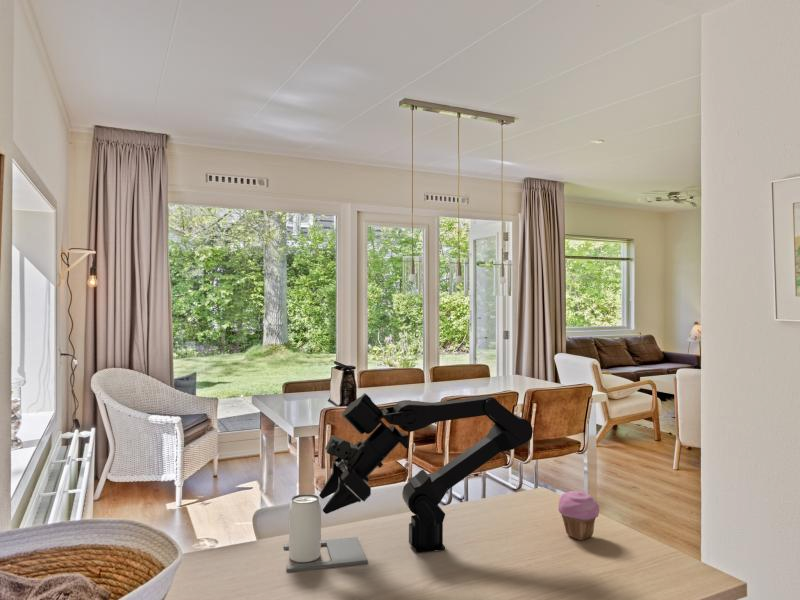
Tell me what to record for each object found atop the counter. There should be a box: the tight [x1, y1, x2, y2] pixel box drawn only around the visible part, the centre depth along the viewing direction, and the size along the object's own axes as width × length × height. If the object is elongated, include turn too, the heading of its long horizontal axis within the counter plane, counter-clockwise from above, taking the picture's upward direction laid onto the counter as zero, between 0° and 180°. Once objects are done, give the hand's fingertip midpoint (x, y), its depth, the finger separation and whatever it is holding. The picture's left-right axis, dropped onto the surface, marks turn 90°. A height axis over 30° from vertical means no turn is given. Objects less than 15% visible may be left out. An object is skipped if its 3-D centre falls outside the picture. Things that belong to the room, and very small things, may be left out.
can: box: [288, 493, 322, 564], centre depth 116 cm, size 6×6×12 cm
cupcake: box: [558, 490, 600, 541], centre depth 127 cm, size 9×9×10 cm
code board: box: [283, 536, 369, 573], centre depth 117 cm, size 16×12×1 cm
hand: (322, 504), depth 117 cm, fingers open, 9 cm apart
